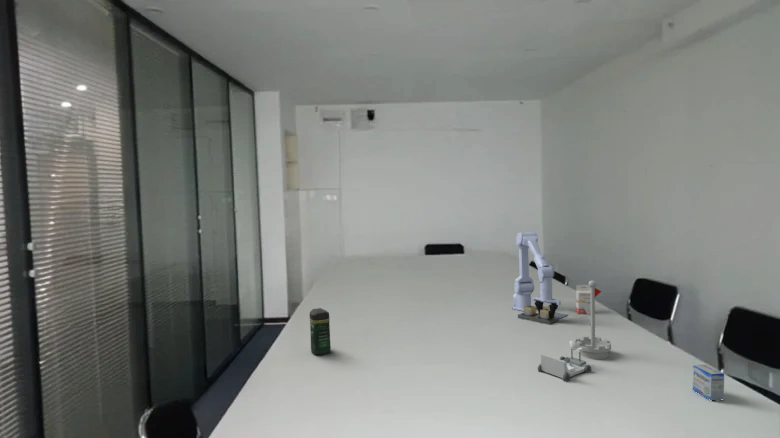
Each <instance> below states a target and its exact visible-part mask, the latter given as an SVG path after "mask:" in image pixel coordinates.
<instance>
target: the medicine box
mask: <svg viewBox="0 0 780 438" xmlns="http://www.w3.org/2000/svg"><path fill="white" fill-rule="evenodd" d="M692 366H693V367H692V391H693V390H694V391H695V392H694V391H693V392H694V393H696V392H697V393H696V394H698V393H699V394H701V395H703V396H704V397H703V396H702V397H703V398H705V397H706V398H705V399H707V398H708V399H710V400H721V399H724V400H725V374H724V373H723V372H721V371H719V370H717V369H716V368H712V367H711V366H709V365H707V364H694V365H692ZM699 394H698V395H699ZM701 395H700V396H701ZM708 399H707V400H708ZM710 400H709V401H710ZM721 401H722V400H721Z"/></svg>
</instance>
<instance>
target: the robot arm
mask: <svg viewBox="0 0 780 438" xmlns="http://www.w3.org/2000/svg"><path fill="white" fill-rule="evenodd" d="M515 238H516V240H515V241H516V247H518V261H519V262H518V265H519V266H518V267H519V269H518V270H519V276H518V277H516V278H515V279H514V284H513V290H514V293H513V296H512V310H517V311H522V312H524V306H527V305H531V306H532V302H534V306H536V311H537V313H539V316H540V310H541V309H543V308H544V304H545V303H547V304H549V305H548V308H549V309H550V317H551V318H554V315H555V312H556V311H557V308H558V307H559V306H561V305H562V303H561V302H562V301H561V300H560V299H555V298H553V278H554V277H555V270H554V267H553V266H552V265H550V264H549V262H548V261H547V259H546V256H545V255H544V254H542V252H541V250H540V247H539V244H538V240H539V236H538V233H537V232H536V231H526V232H521V231H520V232H517V234H516V237H515ZM529 249H530V251H531V253H532V255H533V257H534V258H533V261H534V263H535V265H536V268H537V277H538V281H539V294H540V296H532V294H533V292H534V291H535V284H534V279H533V278H532V277H530V268H529V267H530V266H529V265H530V264H529V263H530V262H529Z"/></svg>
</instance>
